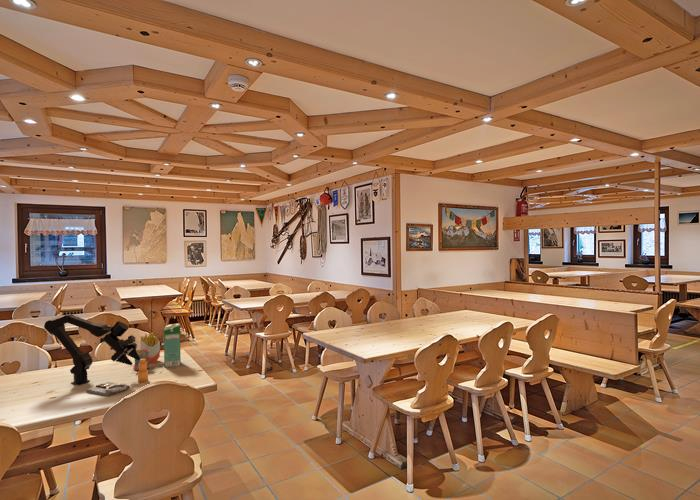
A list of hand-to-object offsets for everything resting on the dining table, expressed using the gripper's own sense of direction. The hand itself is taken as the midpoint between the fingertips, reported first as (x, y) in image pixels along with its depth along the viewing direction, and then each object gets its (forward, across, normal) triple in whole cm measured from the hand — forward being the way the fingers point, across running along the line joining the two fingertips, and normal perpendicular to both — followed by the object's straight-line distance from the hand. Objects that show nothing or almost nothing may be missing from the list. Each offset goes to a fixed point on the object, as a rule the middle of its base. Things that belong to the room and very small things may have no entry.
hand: (135, 362), depth 225 cm
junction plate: (+2, -14, +12) cm, 19 cm away
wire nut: (+10, 0, +5) cm, 11 cm away
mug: (+3, +22, +12) cm, 25 cm away
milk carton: (+14, +30, +2) cm, 33 cm away
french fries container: (+2, +36, +13) cm, 38 cm away
